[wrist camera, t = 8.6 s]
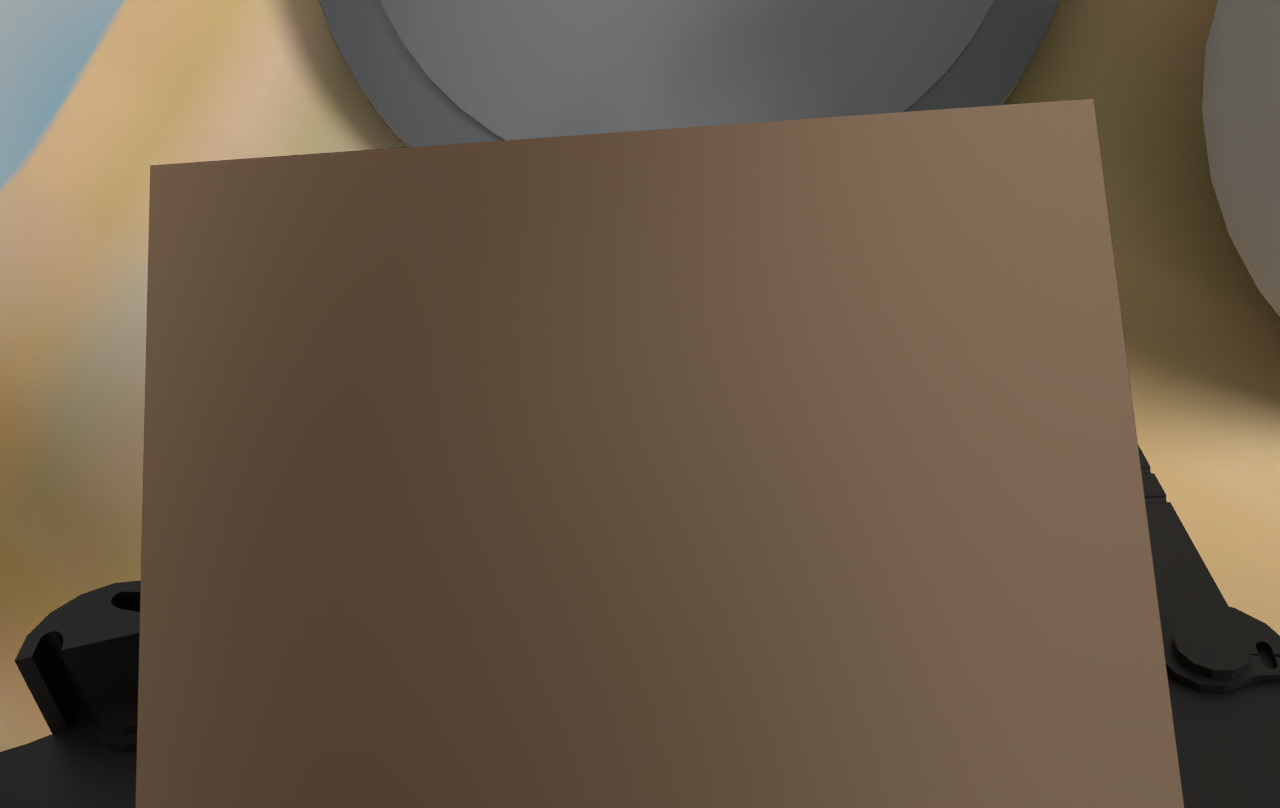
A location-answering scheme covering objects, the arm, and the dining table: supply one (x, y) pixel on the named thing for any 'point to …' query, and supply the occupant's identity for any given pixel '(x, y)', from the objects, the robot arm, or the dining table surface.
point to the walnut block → (649, 475)
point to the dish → (673, 61)
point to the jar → (1246, 132)
